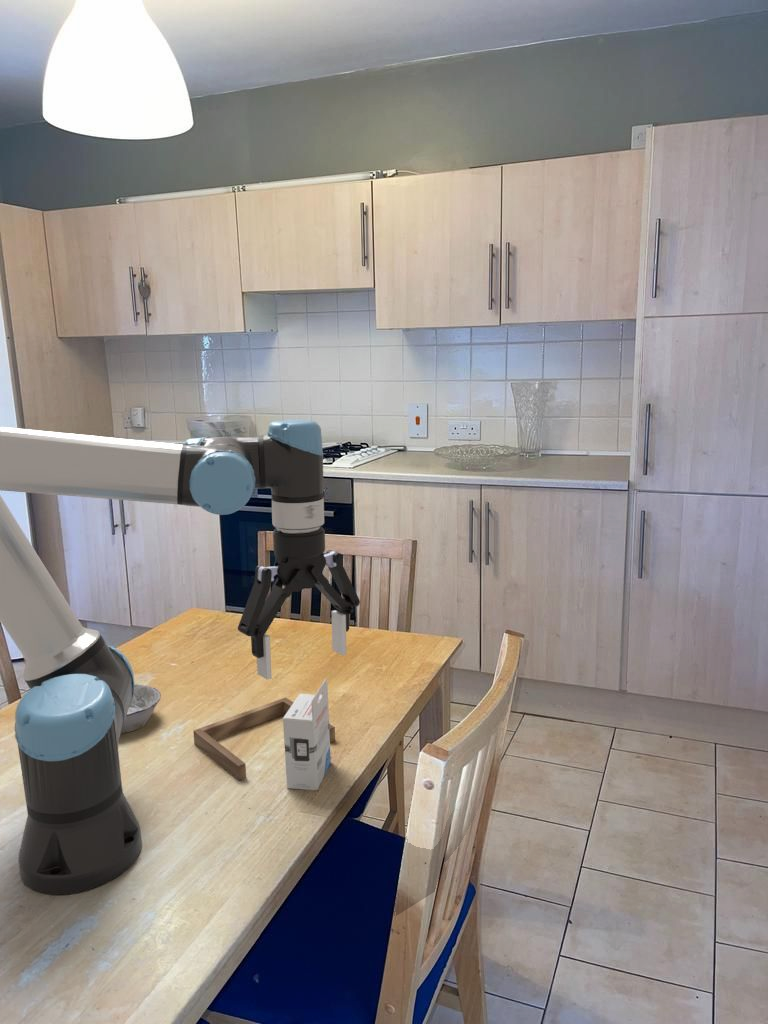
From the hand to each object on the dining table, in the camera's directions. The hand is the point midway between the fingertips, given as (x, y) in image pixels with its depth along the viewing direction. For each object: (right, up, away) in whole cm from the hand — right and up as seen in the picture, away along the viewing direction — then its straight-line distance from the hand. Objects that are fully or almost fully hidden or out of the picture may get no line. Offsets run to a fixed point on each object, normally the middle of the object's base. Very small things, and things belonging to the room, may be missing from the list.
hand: (303, 664), depth 118 cm
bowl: (-35, -15, +23) cm, 44 cm away
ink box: (+1, -18, +4) cm, 19 cm away
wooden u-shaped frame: (-8, -16, +14) cm, 23 cm away
